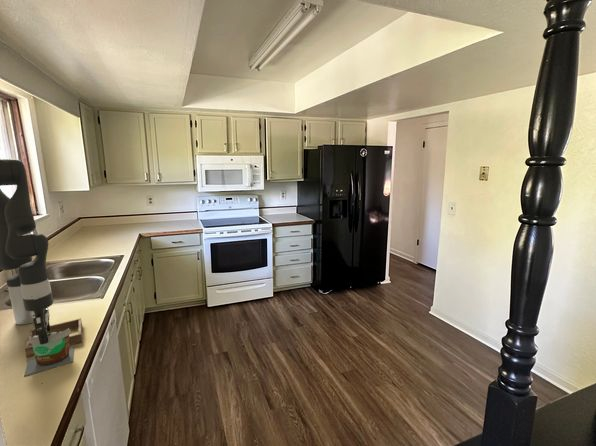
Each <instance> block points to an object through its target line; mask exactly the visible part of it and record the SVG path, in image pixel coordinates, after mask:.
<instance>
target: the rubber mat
mask: <svg viewBox="0 0 596 446" xmlns="http://www.w3.org/2000/svg"><path fill="white" fill-rule="evenodd" d="M73 362H74V347H73V346H72V347H69V356H68V357H66V358H65V359H63V360H61V361H58V362H56V363H52V364H47V365H38V364H37V362H36V358H35V357H34V358H28V360H27V363H26V367H25V372H24V376H23V377H24V378H25V377H28V376H31V375H35V374H38V373H42V372H44V371H45V372H46V371H48V370H51V369H54V368H58V367H62V366H64V365H65V366H66V365H67V364H72V363H73Z"/></svg>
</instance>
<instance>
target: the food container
mask: <svg viewBox="0 0 596 446" xmlns="http://www.w3.org/2000/svg"><path fill="white" fill-rule="evenodd" d="M71 334H72V330H69V328H68V329H67V330H65V331H61V332H48V333H47V335H48V343H46V344H42V345H41V344H40V341H39V336H36V335H33V334H32V333H31V334H30V336H29V335H28V336H29V343H31V344H32V347H33V351H34V358H36V362H37V364H38V365H47V364H52V363H56V362H58V361H61V360H63V359H65V358H66V357H68V356H69V348H70V346H69V336H71Z"/></svg>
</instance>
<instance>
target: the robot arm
mask: <svg viewBox="0 0 596 446" xmlns="http://www.w3.org/2000/svg"><path fill="white" fill-rule="evenodd" d="M0 186H16V190H15V191H14V193H13V194H12V196H11V197H8V195H6V194H5V193H4V192H3V191H2V189H1V188H0V270H1V271H9V270H16V269H17V273H15V274H13V275H11V276H9V277H8V278H7V279H6V285H7V289H8V290H7V291H8V294H9V298H10V303H11V308H12V314H13V317H14V322H15V324H16V325H18V326H19V325H20V326H23V325H28V324H32V323H33V326H34V329H35V331H36V336H39V341H40V344H41V345H42V344H46V343H48V335H47V332H49V331H50V326H51V324H50V309H49V307H51V306H52V305H53V304H54V298H53V292H52V287H51V283H50V281H49V277H48V272H47V255H48V251H49V240H48V237H47V236H46V235H44V233H43V234H42V233H32V232H34V231H35V230H36V228H37V224H36V221H35V218H34V214H33V211H32V210H33V209H32V207H31V199H30V198H31V197H30V189H29V181H28V175H27V170H26V167H25V164H24V163H23V161H22V160H20V159H17V158H0ZM30 233H31V234H30ZM33 257H34V259H33ZM39 328H42V330H40V331H39Z"/></svg>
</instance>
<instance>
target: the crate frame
mask: <svg viewBox="0 0 596 446" xmlns="http://www.w3.org/2000/svg"><path fill="white" fill-rule="evenodd" d="M68 328H69V330H70V331H72V330H74V329H78V333H75V334H72V335H71V334H70V335H69V347H70V346H74V345H77V344H80V343H81V344H82V343H83V323H82V318H76V319H72V320H68V321H64V322H59V323H55V324H50V331H49V332H61V331H65V330H67V329H68ZM40 330H42V328H39V331H40ZM31 333H32V334H33V335H36V331H35V328H34V329H29V332H28V336H27V340H26V344H25V346H24V352H25V356H26V358H30V357H35V355H34V351H33V347H32V344H31V343H29V336H30V334H31ZM47 333H48V332H47Z"/></svg>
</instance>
